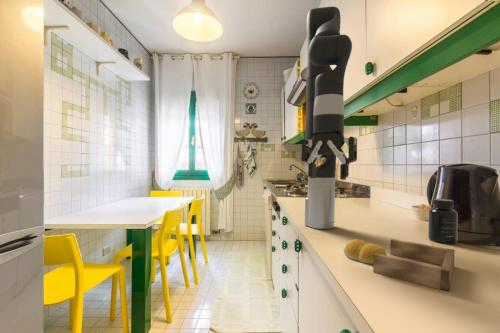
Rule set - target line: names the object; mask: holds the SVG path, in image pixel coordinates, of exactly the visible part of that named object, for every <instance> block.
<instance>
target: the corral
mask: <svg viewBox="0 0 500 333" xmlns="http://www.w3.org/2000/svg"><path fill="white" fill-rule="evenodd" d="M389 246H390V247H389V248H390V249H389V250H390V251H389V252H390V253H389V254H390V255H392V256H390V255H382V254H377V253H375V254H373V264H372V266H373V267H372V268H373V269H372V272H373V273H376V274H379V275H380V274H381V275H384V276H388V277H392V278H395V279H399V280H402V281H403V280H404V281H406V282H407V281H408V282H410V283H415V284H419V285H422V286H425V287H430V288H435V289H438V290H443V291H446V292H449V291H450V290H451V288H450V287H451V284H452V282H451V281H452V278H453V273H454V268H455V249H452V248H445V247H442V246H441V247H440V246H434V245H428V244H424V243H423V244H422V243H417V242H412V241H405V240H400V239H395V238H391V239H390V245H389ZM395 256H396V257H395ZM397 256H398V257H397ZM400 257H401V258H400ZM404 258H407V259H404ZM408 259H412V260H408ZM413 260H414V261H413ZM419 261H421V262H419ZM422 262H424V263H422ZM425 262H426V263H425ZM427 263H430V264H427ZM433 264H435V265H433Z"/></svg>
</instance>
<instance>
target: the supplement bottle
mask: <svg viewBox="0 0 500 333" xmlns="http://www.w3.org/2000/svg"><path fill="white" fill-rule="evenodd" d="M454 203H455V202H454V200H453V199H448V198H433V199H432V206H433V207H432V208H430V209H429V210H428V227H427V228H428V230H427V231H428V235H427V237H428V239H429V240H430V241H431V242H433V243H437V244H443V245H454V244H457V243H458V229H459V228H458V226H459V224H458V222H459V220H458V219H459V218H458V217H459V215H458V214H459V213H458V212H457V210H455V209H454V208H455V205H454Z"/></svg>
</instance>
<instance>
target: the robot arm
mask: <svg viewBox="0 0 500 333" xmlns="http://www.w3.org/2000/svg"><path fill="white" fill-rule="evenodd" d="M341 18H342V17H341V11H340V9H339V8H338V7H336V6H324V7H323V6H322V7H316V8H314V7H313V8H311V9H309V11H308V13H307V15H306V43H307V46H306V47H307V48H306V49H307V50H306V51H307V62H306V63H307V65H306V79H305V80H306V84H305V85H306V89H305V94H306V95H305V99H306V100H305V101H306V104H305V106H306V113H305V114H306V115H305V127H304V138H303V139H302V140H301V162H305V163H307V165H308V167H307V169H308V171H307V197H306V198H305V199H304V226H307V227H310V228H313V229H317V230H318V229H320V230H328V229H329V230H331V229H333V228H335V208H336V206H335V205H336V204H335V203H336V202H335V201H336V200H335V198H336V197H335V195H336V169H337V159H338V161H339V162H340V163H341V164H340V166H339V169H340V171H339V173H340V174H339V179H340V180H343V181H346V180H347V178H349V174H350V173H349V172H350V171H349V168H350V167H349V166H350V164H351V163H354V162H355V163H356V161H357V159H358V138H357V137H354V136H349V137H345V136H344V131H345V127H344V126H345V100H344V84H345V73H346V70H347V66H348V63H349V60H350V57H351V54H352V50H353V43H352V39H351V37H349V35H347V34H341V20H342V19H341ZM331 66H335V67H334V68H332V67H331ZM344 144H345V145H346V146H347V147H348V148H347V149H348V157H347V155H346V152H345V151H344V149H342V147H343V146H344ZM322 158H323V159H324V161H323V162H322V163H320V164H318V165H317V164H316V163H317V162H318V159H322Z"/></svg>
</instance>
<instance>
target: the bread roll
mask: <svg viewBox="0 0 500 333" xmlns="http://www.w3.org/2000/svg"><path fill="white" fill-rule="evenodd" d="M343 253H344V255H345V256H346V257H347V258H349V259H351V260H354V261H359V263H363V264H368V265H369V264H370V265H373V254H375V253H377V254H382V255H387V252H386V249H385V248H383V247H382V246H380V245H378V244H374V243H368V242H366V241H364V240H362V239H357V238H355V239H352V240H350V241H349V242H348V243H347V244H345V245H344V246H343ZM387 256H388V255H387Z"/></svg>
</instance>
